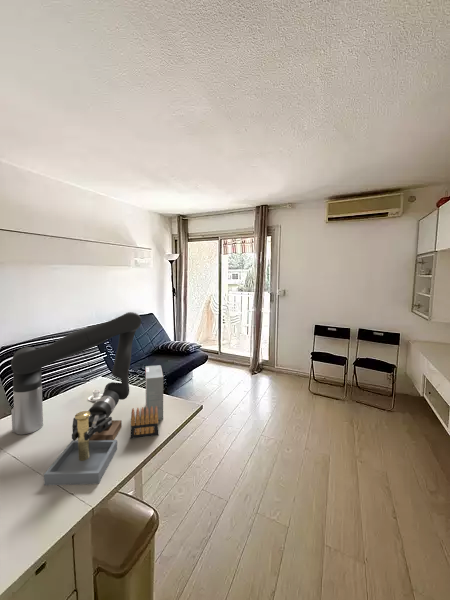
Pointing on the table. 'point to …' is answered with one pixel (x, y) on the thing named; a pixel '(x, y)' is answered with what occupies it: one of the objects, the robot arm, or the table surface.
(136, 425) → the ammunition clip
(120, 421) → the socket block
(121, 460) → the table surface
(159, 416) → the hard drive box
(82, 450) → the pin
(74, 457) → the slate tray
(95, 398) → the white rounded piece
